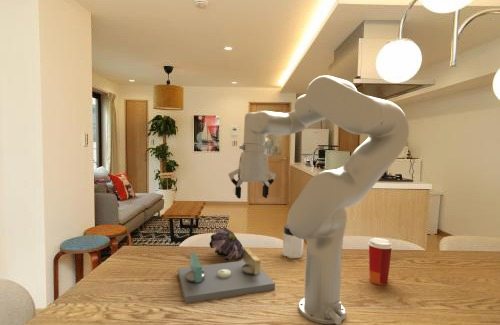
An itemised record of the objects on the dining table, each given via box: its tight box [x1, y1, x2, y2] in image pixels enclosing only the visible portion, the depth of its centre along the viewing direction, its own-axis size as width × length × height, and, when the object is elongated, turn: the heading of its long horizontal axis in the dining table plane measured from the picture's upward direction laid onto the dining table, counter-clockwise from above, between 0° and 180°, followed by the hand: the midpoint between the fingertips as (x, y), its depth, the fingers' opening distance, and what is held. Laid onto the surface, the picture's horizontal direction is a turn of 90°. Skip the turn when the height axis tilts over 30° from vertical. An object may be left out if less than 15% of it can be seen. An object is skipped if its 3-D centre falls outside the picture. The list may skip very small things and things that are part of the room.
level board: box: [177, 260, 276, 304], centre depth 98 cm, size 20×28×4 cm
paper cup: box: [367, 237, 394, 286], centre depth 100 cm, size 8×8×14 cm
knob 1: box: [186, 252, 205, 283], centre depth 94 cm, size 12×6×6 cm, turn 19°
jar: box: [282, 224, 305, 259], centre depth 123 cm, size 9×8×12 cm
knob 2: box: [242, 247, 261, 275], centre depth 100 cm, size 12×6×6 cm, turn 19°
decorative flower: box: [208, 228, 244, 262], centre depth 119 cm, size 15×12×15 cm
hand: (251, 197), depth 103 cm, fingers open, 9 cm apart
